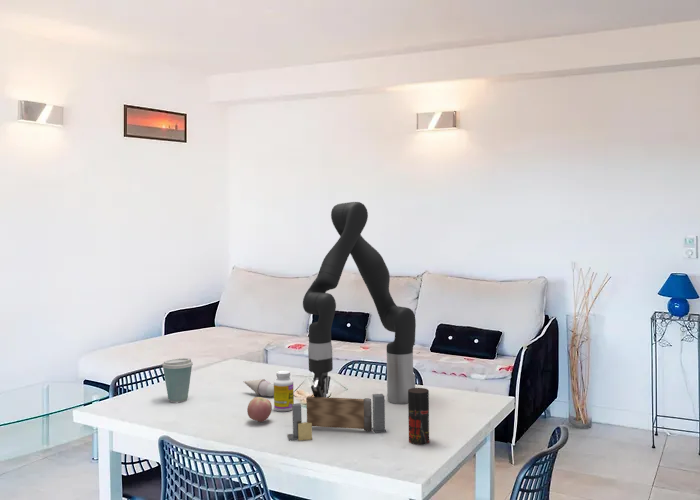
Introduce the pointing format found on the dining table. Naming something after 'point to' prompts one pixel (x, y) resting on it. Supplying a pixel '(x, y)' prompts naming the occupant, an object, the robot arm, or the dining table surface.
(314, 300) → the robot arm
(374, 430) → the hinge post
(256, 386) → the ice cream cone
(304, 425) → the toy blocks
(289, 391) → the supplement bottle
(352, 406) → the gate
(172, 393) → the disposable coffee cup
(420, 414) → the deodorant
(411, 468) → the dining table surface
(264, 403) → the apple
